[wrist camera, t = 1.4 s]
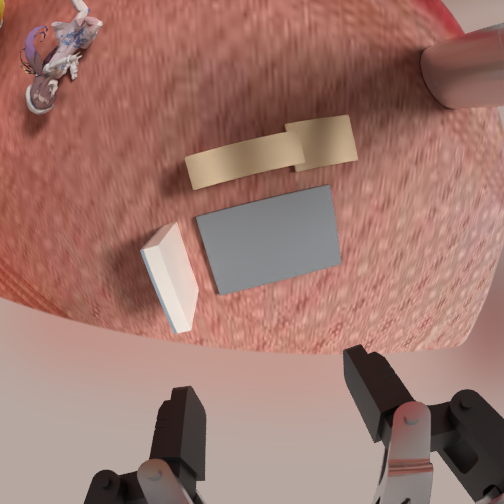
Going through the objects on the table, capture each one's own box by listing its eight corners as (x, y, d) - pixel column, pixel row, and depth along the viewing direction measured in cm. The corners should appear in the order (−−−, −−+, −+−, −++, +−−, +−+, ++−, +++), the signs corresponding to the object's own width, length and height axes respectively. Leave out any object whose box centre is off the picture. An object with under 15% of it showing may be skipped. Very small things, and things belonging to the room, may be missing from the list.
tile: (176, 221, 28) (158, 245, 20) (198, 289, 30) (190, 330, 23) (162, 225, 28) (140, 250, 20) (185, 292, 30) (174, 333, 23)
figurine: (130, 23, 22) (76, 128, 24) (74, 16, 18) (21, 117, 20) (126, -32, 11) (38, 102, 13) (55, -33, 8) (-27, 95, 10)
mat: (327, 184, 28) (329, 184, 27) (339, 262, 31) (341, 263, 30) (196, 216, 28) (195, 217, 27) (220, 293, 31) (220, 295, 30)
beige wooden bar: (346, 115, 25) (362, 110, 22) (355, 159, 27) (373, 161, 23) (188, 148, 25) (181, 146, 22) (201, 195, 27) (196, 201, 23)
